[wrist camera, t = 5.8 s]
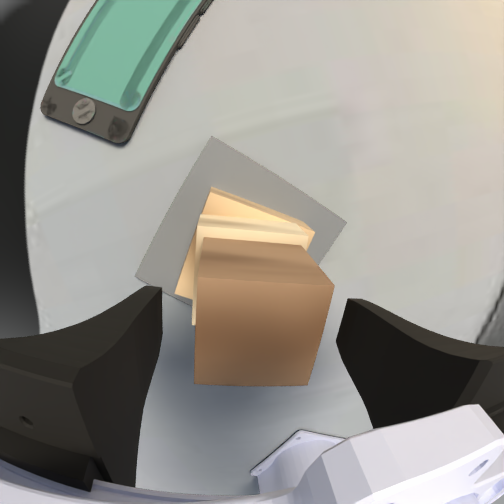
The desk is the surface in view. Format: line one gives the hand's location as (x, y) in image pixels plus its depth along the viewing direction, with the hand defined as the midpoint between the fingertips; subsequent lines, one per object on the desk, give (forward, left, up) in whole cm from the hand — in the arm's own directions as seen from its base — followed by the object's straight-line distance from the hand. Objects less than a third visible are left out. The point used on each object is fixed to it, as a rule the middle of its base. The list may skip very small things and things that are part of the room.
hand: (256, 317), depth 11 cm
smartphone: (+9, +14, -9) cm, 19 cm away
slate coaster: (0, 0, -9) cm, 9 cm away
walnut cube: (0, 0, -3) cm, 3 cm away
